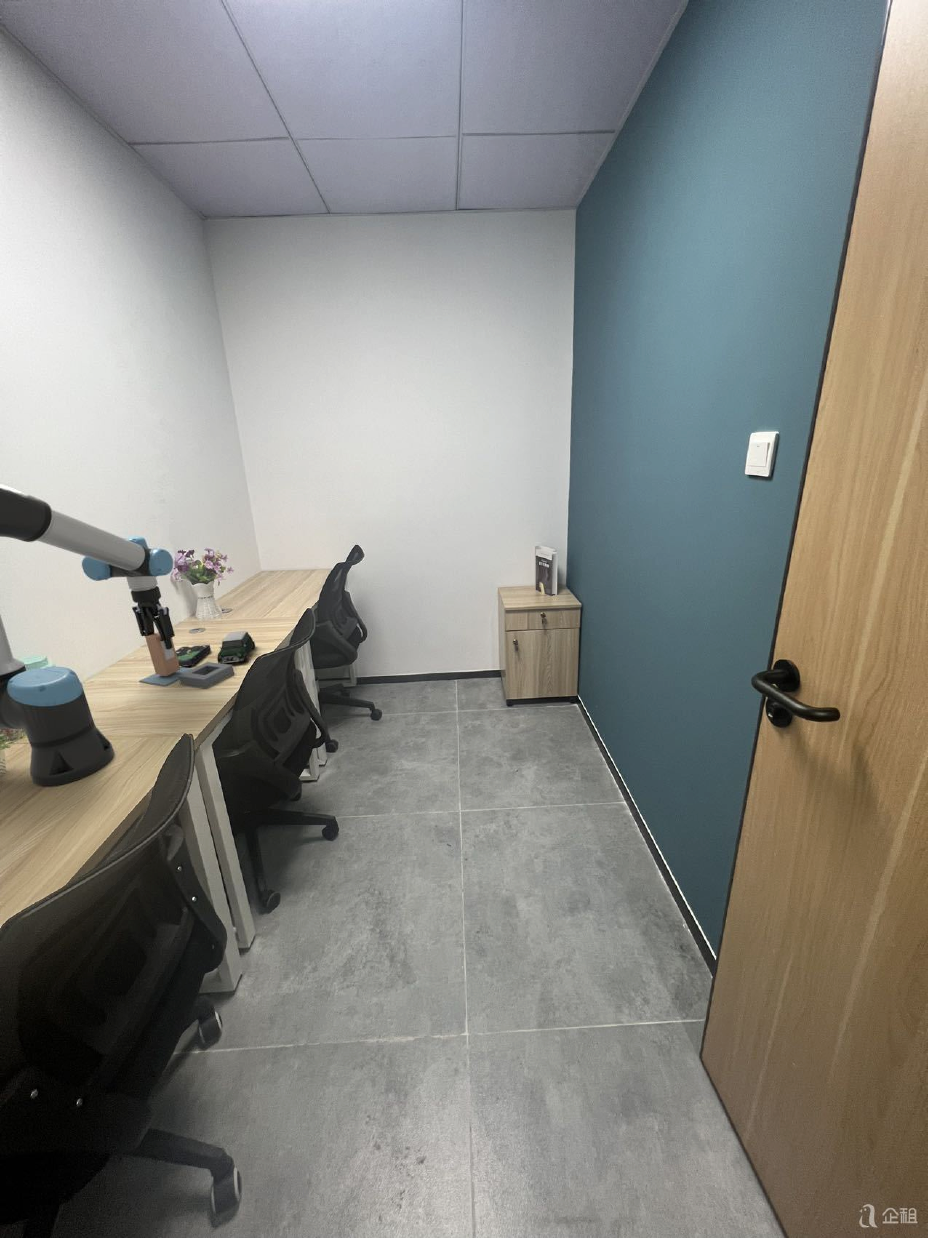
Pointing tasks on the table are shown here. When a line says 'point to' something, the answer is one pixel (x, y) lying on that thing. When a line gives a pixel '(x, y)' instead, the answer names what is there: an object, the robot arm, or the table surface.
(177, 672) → the rubber mat
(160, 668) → the terracotta block
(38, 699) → the robot arm
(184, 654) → the disk drive
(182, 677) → the pocket holder
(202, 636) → the table surface
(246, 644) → the miniature car
